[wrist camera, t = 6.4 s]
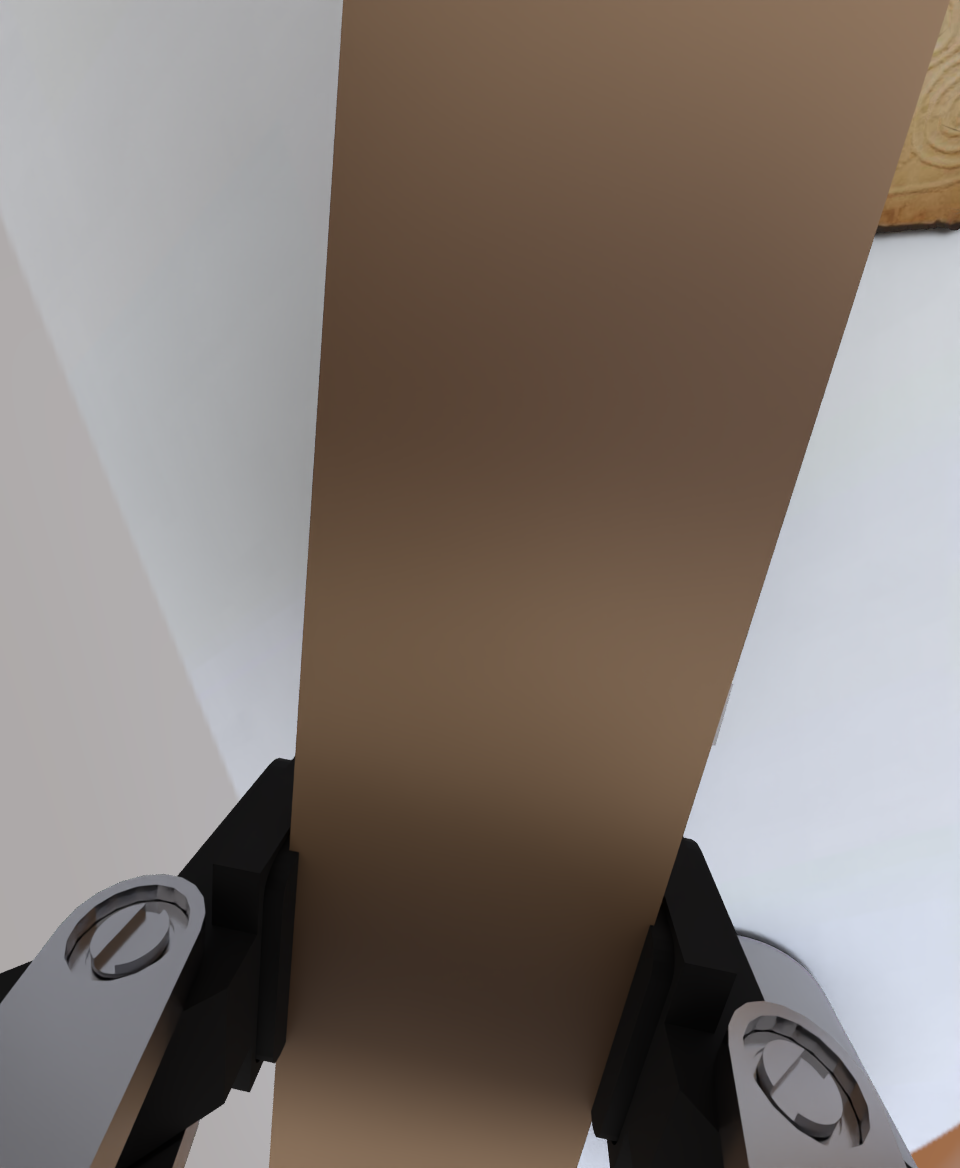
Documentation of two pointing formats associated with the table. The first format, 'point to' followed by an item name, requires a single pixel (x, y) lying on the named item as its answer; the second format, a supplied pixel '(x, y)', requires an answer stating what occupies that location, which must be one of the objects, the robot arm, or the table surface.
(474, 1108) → the walnut bar
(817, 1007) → the cylinder vase
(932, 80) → the parchment
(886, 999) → the table surface
